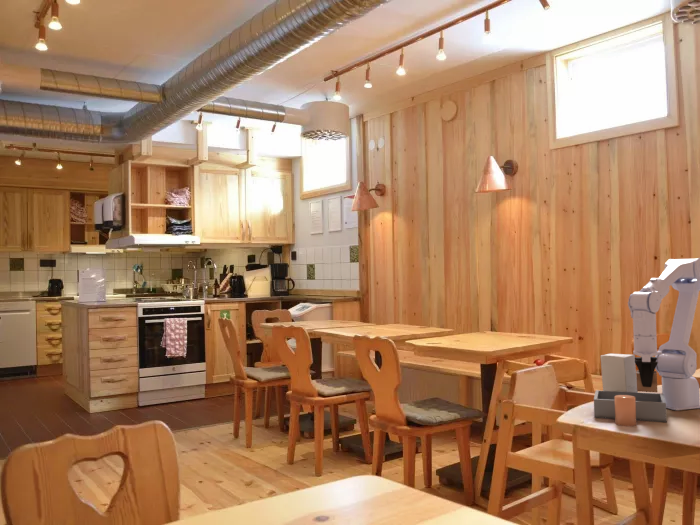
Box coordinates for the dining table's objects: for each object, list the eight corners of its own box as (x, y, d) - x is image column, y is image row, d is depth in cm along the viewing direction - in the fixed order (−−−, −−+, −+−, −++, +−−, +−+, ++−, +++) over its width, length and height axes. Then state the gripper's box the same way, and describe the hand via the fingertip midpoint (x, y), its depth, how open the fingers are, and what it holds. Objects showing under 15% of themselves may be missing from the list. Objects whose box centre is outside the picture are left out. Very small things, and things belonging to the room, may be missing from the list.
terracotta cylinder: (626, 420, 166) (626, 394, 166) (640, 424, 161) (639, 397, 161) (611, 422, 164) (610, 395, 164) (624, 426, 159) (623, 399, 160)
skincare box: (639, 405, 184) (637, 354, 184) (627, 407, 181) (625, 356, 181) (613, 400, 191) (611, 352, 191) (601, 403, 188) (599, 354, 188)
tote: (663, 411, 175) (662, 393, 175) (666, 422, 163) (665, 403, 163) (596, 407, 182) (595, 390, 182) (594, 417, 170) (593, 399, 170)
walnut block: (637, 388, 174) (636, 370, 174) (656, 389, 172) (656, 371, 172) (637, 391, 170) (636, 373, 170) (657, 392, 167) (656, 373, 168)
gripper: (662, 338, 163) (664, 390, 163) (660, 333, 176) (661, 381, 176) (632, 337, 166) (634, 389, 165) (632, 332, 179) (634, 379, 179)
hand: (646, 384), depth 171 cm, fingers closed on walnut block, 5 cm apart
